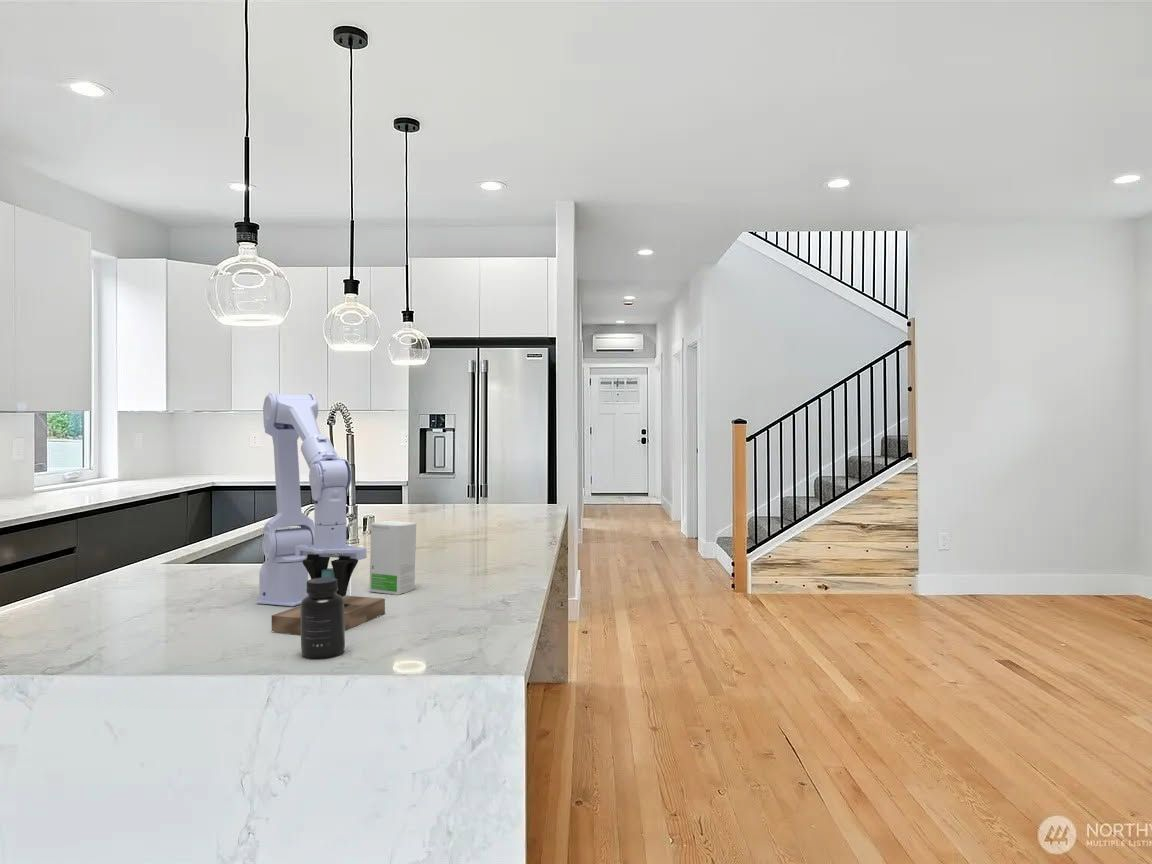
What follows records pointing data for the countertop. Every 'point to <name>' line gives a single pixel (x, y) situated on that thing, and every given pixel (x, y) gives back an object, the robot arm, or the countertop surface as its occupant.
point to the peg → (328, 573)
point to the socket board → (354, 614)
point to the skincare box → (392, 557)
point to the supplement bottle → (322, 620)
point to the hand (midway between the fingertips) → (330, 595)
